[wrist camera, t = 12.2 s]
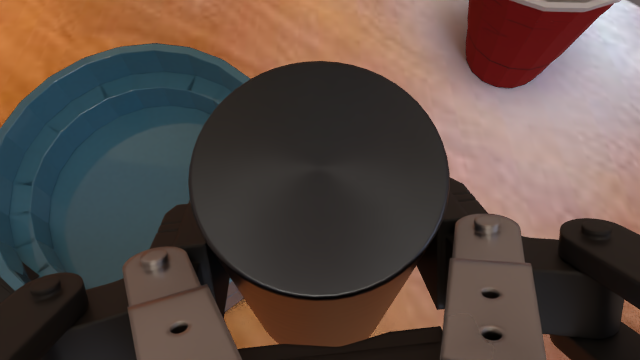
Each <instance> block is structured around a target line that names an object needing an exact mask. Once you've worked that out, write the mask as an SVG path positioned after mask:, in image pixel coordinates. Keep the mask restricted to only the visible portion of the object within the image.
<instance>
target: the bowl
mask: <svg viewBox="0 0 640 360" xmlns="http://www.w3.org/2000/svg"><path fill="white" fill-rule="evenodd" d="M248 80H250V78H249V77H247V76H246V75H244V74H243V73H242V72H240V71H239V70H237V69H236V68H234V67H233V66H232V65H230V64H229V63H227V62H226V61H224V60H222V59H220V58H218V57H215V56H212V55H210V54H207V53H204V52H201V51H199V50H196V49H193V48H190V47H183V46H175V45H167V44H158V43H156V44H155V43H152V44H142V45H132V46H122V47H117V48H114V49H110V50H107V51H104V52H101V53H98V54H95V55H91V56H88V57H85V58H84V59H81V60H79V61H77V62H75V63H73V64H72V65H70V66H68V67H66V68H64V69H62V70H61V71H59V72H57V73H55V74H53V75H52V76H50V77H48V78H47V79H46V80H45V81H44V82H43V83H42V84H40V85H39V86H38V87H37V88H36V89H35V90H33V91H32V92H31V93H30V94H29V95H28V96H26V97H25V98H24V99H23V100H22V101H21V102H20V103H19V104H18V105H17V107H16V108H15V109H14V111H13V112H12V113H11V115H10V116H9V117H8V119H7V120H6V121H5V123H4V124H3V125H2V127H1V128H0V277H1V278H2V279H3V280H4V281H5V282H6V283H7V284H8V285H9V286H10V287H11V288H12V289H13V290H14V291H16V290H17V289H19V288H20V287H21V286H23V285H24V284H26V283H28V282H30V281H32V280H30V279H29V278H28V276H27V274H26V271H25V268H24V266H23V264H22V262H23V263H24V264H26V265H27V266H28V267H29V268H31V269H32V270H33V271H34V272H36V273H37V274H38V275H40V276H39V277H38V278H40V277H42V276H46V275H50V274H55V273H65V272H68V273H75V274H77V275H79V276H81V277H82V279H83V282H84V286H85V289H86V290H87V289H91V288H94V287H98V286H102V285H105V284H109V283H112V282H115V281H118V280H120V279H122V278H124V277H123V272H122V268H123V265H124V264H125V262H126V261H127V260H129V259H130V258H131V257H133V256H134V255H136V254H138V253H140V252H143V251H145V250H149V249H150V247H151V244H152V242H153V240H154V238H155V235H156V233H158V229H159V227H160V225H161V222H162V220H163V218H164V215H165V214H166V213H167V212H168V211H170V210H171V209H172V208H173V207H175V206H176V205H180V204H188V202H189V200H190V197H189V185H188V180H189V166H190V161H191V156H192V152H193V149H194V146H195V143H196V141H197V138H198V136H199V134H200V132H201V130H202V128H203V126H204V124H205V122H206V121H207V119H208V118H209V117H210V115H211V114H212V112H213V111H214V110H215V108H216V107H217V106H218V105H219V104H220V103H221V102H222V101H223V100H224V99H225V98H226V97H227V96H228V95H229V94H230V93H232V92H233V91H234V90H235V89H236V88H238V87H239V86H241V85H242V84H244V83H245V82H247V81H248ZM21 261H22V262H21ZM36 279H37V278H36ZM242 299H244V297H243V296H242V294H241V293H240V291H239V290H238V289H237V287H236V286H235V284H234V283H233V281H232V280H231V278H230V280H229V287H228V293H227V300H226V307H225V311H227V310H228V309H230V308H231V307H232V306H234V305H235V304H237V303H238V302H239V301H241V300H242Z"/></svg>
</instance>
